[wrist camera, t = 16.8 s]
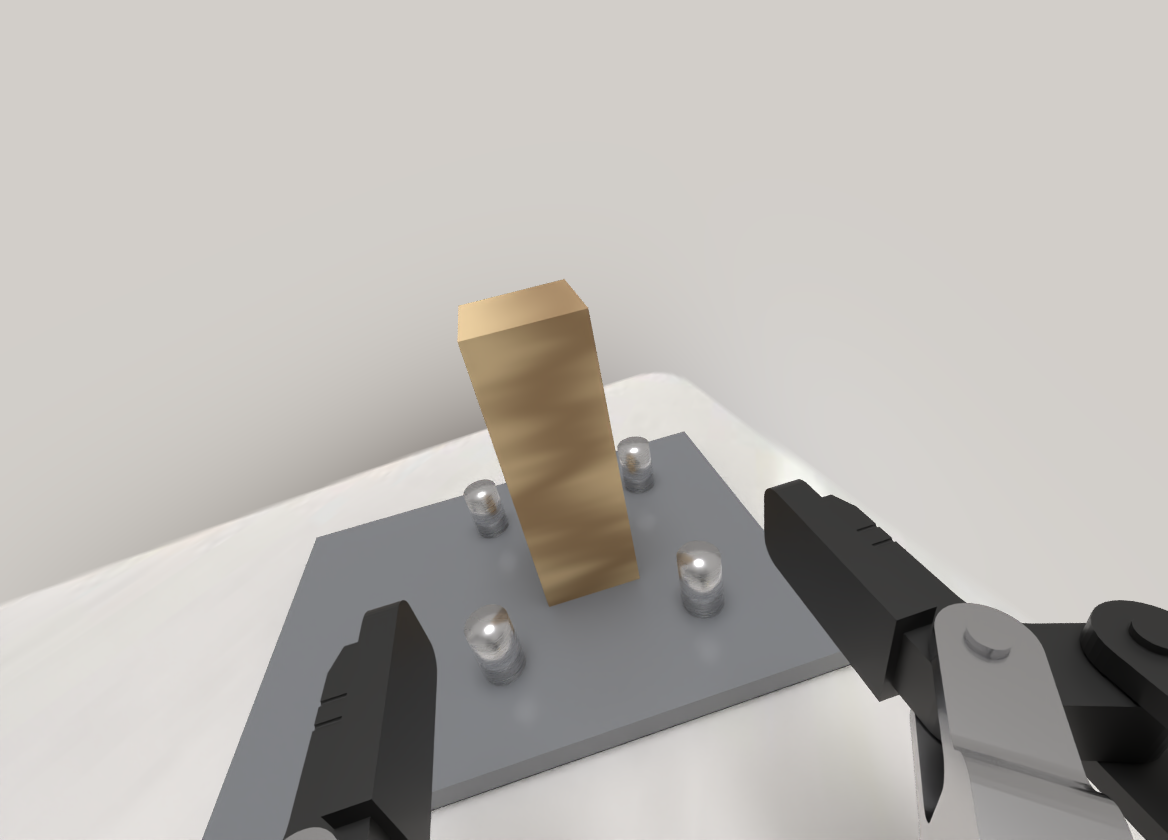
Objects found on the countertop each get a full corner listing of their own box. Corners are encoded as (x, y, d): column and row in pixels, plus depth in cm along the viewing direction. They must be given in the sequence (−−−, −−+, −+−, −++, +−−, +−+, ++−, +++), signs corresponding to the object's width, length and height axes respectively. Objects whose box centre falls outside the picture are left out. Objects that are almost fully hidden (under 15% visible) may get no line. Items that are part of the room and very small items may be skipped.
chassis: (207, 887, 15) (133, 842, 13) (324, 550, 28) (295, 504, 26) (853, 663, 17) (864, 597, 15) (685, 445, 30) (680, 395, 28)
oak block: (549, 607, 20) (457, 342, 14) (536, 541, 24) (458, 305, 18) (639, 578, 21) (587, 308, 15) (614, 518, 24) (564, 279, 18)
